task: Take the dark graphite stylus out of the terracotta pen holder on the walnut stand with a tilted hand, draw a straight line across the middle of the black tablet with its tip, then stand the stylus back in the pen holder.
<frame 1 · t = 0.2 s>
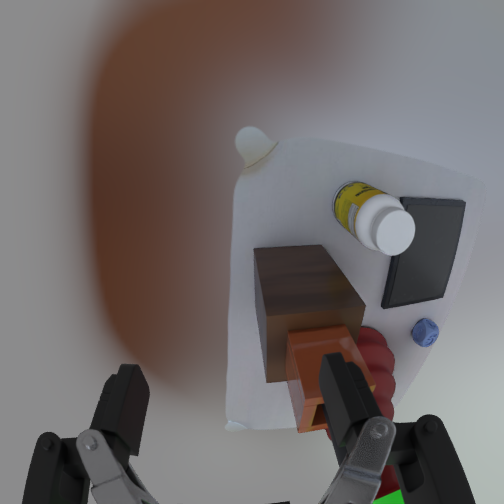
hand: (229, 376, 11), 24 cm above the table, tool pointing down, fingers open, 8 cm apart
pill bottle: (352, 203, 33), on the table
table lamp: (338, 364, 46), on the table
decorative dice: (420, 326, 44), on the table
stand: (287, 277, 37), on the table
pen cup: (313, 348, 24), resting on stand
stylus: (315, 352, 24), point 14 cm above the table, touching pen cup
tablet: (425, 253, 37), on the table
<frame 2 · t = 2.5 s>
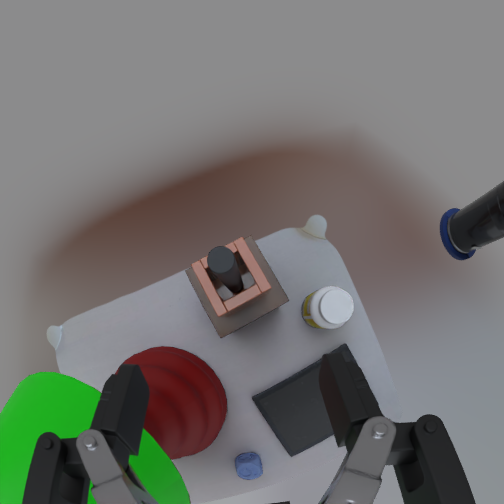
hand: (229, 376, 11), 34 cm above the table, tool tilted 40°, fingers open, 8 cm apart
pill bottle: (318, 309, 45), on the table
table lamp: (171, 399, 41), on the table
decorative dice: (249, 460, 38), on the table
stand: (241, 295, 45), on the table
pen cup: (236, 285, 32), resting on stand
stylus: (235, 285, 31), point 14 cm above the table, touching pen cup
tablet: (318, 403, 41), on the table
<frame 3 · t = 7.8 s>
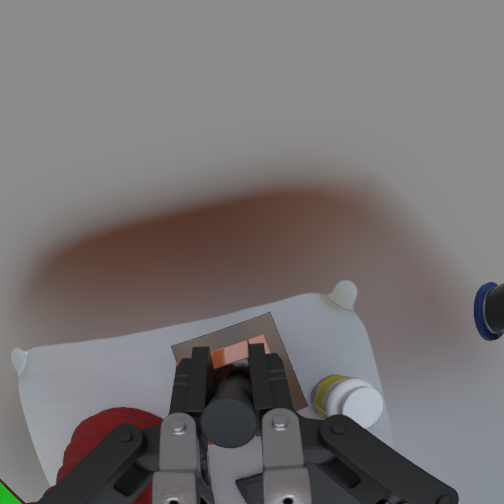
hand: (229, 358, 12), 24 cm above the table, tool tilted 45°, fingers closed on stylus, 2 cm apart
pill bottle: (331, 395, 33), on the table
table lamp: (139, 465, 28), on the table
stand: (241, 368, 34), on the table
pen cup: (238, 379, 21), resting on stand
stylus: (239, 380, 20), point 15 cm above the table, touching gripper, pen cup
tablet: (311, 492, 27), on the table
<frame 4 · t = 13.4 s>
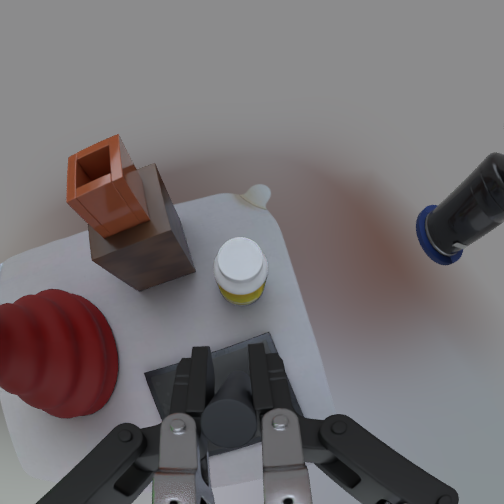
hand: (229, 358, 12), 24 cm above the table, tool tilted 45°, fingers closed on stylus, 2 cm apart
pill bottle: (241, 284, 38), on the table
table lamp: (68, 355, 33), on the table
stand: (159, 254, 39), on the table
pen cup: (122, 208, 26), resting on stand
stylus: (239, 380, 20), point 15 cm above the table, touching gripper
tablet: (224, 402, 32), on the table
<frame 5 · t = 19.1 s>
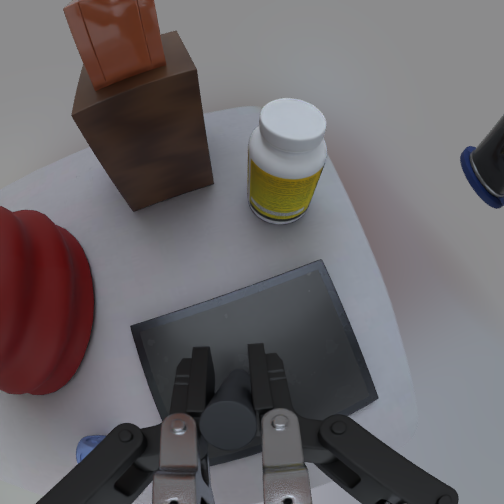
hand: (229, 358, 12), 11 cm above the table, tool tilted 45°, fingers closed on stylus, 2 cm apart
pill bottle: (278, 199, 27), on the table
table lamp: (31, 307, 23), on the table
decorative dice: (114, 453, 18), on the table
stand: (165, 166, 29), on the table
pen cup: (129, 62, 15), resting on stand
stylus: (239, 378, 20), point 1 cm above the table, touching gripper
tablet: (255, 371, 21), on the table
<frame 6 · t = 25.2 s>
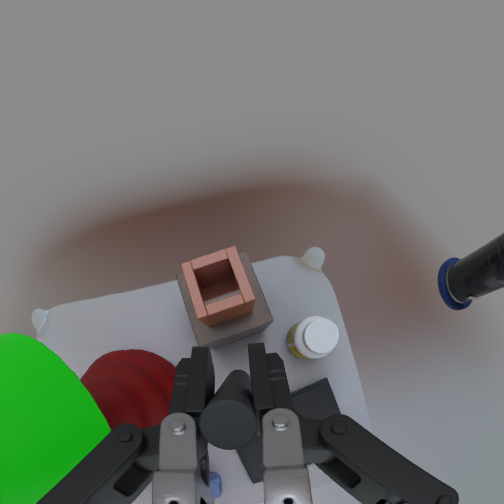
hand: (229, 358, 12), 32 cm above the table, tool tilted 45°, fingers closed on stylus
pill bottle: (303, 340, 43), on the table
table lamp: (141, 404, 38), on the table
decorative dice: (209, 480, 34), on the table
stand: (229, 314, 44), on the table
pen cup: (222, 297, 31), resting on stand
stylus: (238, 379, 20), point 23 cm above the table, touching gripper
tablet: (289, 433, 37), on the table
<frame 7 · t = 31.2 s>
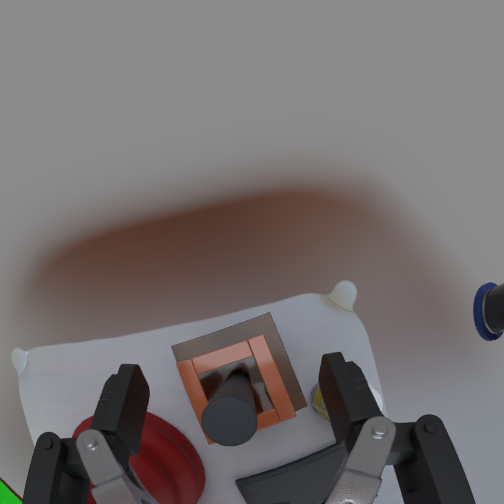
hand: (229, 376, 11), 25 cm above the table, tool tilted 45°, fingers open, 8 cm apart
pill bottle: (331, 395, 33), on the table
table lamp: (140, 465, 28), on the table
stand: (241, 368, 34), on the table
pen cup: (238, 379, 21), resting on stand
stylus: (239, 379, 20), point 14 cm above the table, touching pen cup
tablet: (311, 492, 27), on the table
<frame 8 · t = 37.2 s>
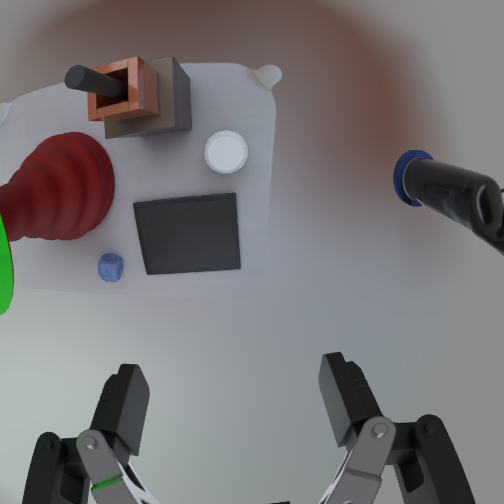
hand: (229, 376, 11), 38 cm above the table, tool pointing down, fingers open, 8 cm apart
pill bottle: (227, 149, 43), on the table
table lamp: (72, 183, 42), on the table
decorative dice: (114, 262, 49), on the table
stand: (163, 106, 39), on the table
pen cup: (136, 96, 26), resting on stand
stylus: (135, 95, 25), point 14 cm above the table, touching pen cup
tablet: (187, 235, 48), on the table
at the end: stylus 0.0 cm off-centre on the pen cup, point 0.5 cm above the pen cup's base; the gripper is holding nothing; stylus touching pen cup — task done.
